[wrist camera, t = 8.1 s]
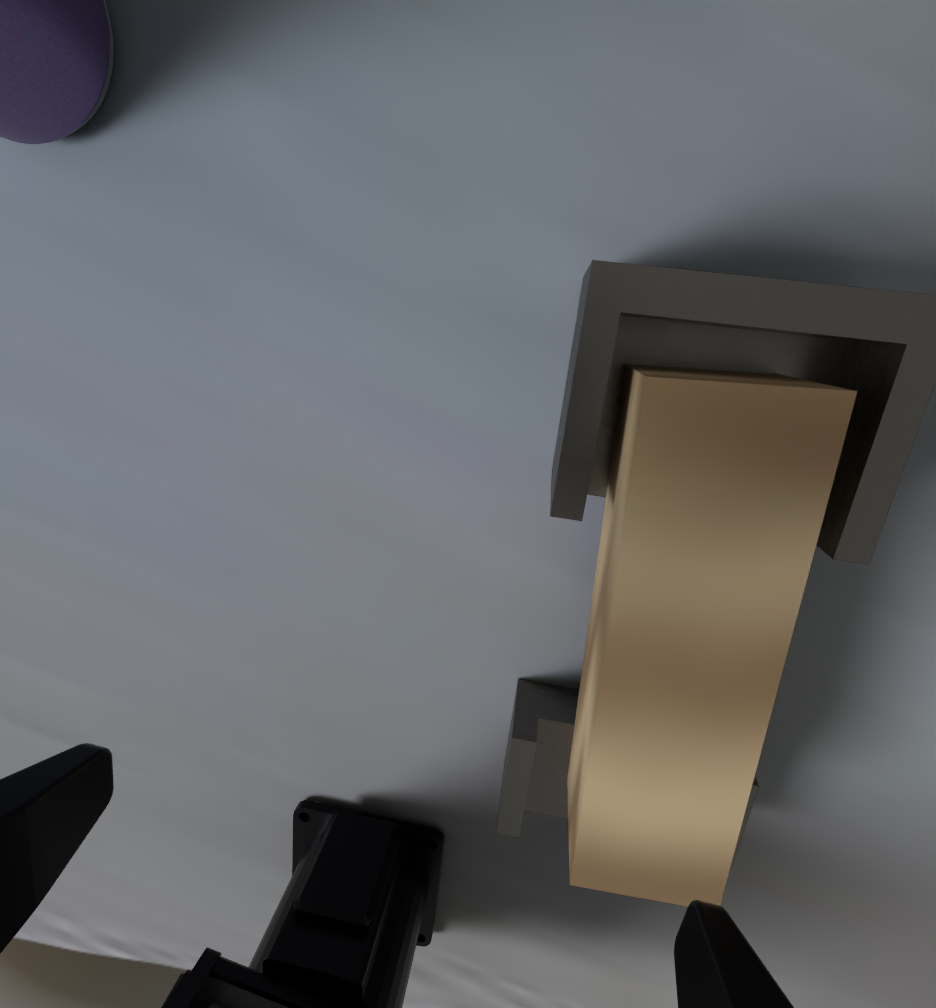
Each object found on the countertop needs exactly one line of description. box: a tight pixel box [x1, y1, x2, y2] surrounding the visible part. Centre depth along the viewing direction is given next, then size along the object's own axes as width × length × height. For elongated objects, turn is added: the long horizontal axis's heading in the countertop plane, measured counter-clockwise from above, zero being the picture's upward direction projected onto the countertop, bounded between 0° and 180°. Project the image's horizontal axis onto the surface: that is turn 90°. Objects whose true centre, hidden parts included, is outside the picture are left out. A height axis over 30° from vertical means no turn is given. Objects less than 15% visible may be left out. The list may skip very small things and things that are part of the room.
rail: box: [567, 364, 857, 906], centre depth 15 cm, size 14×4×4 cm, turn 177°
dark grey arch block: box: [496, 679, 759, 872], centre depth 20 cm, size 4×8×3 cm, turn 84°
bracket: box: [550, 260, 936, 565], centre depth 15 cm, size 6×8×4 cm
